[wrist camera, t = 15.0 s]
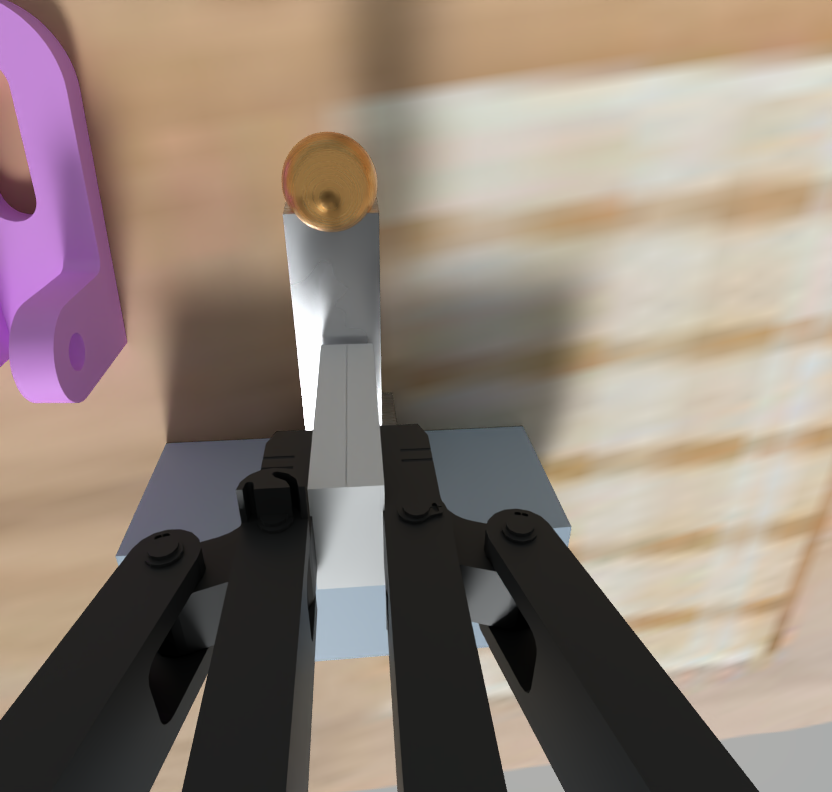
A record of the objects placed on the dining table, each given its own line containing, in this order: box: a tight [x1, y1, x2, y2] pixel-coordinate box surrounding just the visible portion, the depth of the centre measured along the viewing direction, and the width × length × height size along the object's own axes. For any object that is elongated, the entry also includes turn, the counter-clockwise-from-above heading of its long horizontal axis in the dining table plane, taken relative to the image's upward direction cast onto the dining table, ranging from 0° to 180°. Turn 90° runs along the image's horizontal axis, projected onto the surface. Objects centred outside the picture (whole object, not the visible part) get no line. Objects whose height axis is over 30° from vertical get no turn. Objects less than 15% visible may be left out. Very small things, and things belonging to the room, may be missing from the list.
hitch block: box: [116, 426, 571, 661], centre depth 29 cm, size 18×7×8 cm, turn 89°
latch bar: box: [282, 132, 382, 430], centre depth 19 cm, size 2×15×2 cm, turn 179°
